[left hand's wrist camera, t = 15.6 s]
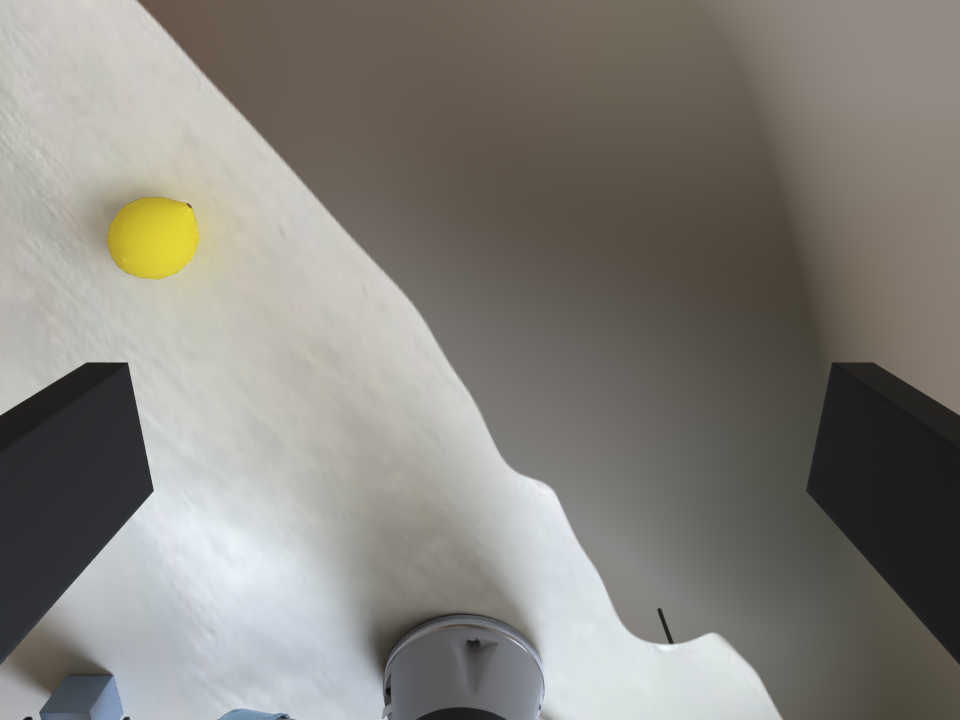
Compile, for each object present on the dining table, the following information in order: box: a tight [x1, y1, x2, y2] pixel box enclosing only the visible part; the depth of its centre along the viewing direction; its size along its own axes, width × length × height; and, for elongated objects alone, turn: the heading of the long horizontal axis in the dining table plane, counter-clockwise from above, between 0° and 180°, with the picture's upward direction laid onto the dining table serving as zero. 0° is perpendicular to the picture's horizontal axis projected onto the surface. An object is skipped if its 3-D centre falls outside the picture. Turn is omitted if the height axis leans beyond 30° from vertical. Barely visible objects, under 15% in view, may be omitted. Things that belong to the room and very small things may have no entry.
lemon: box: [107, 197, 199, 279], centre depth 45 cm, size 7×5×5 cm
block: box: [39, 675, 123, 720], centre depth 62 cm, size 5×5×4 cm
